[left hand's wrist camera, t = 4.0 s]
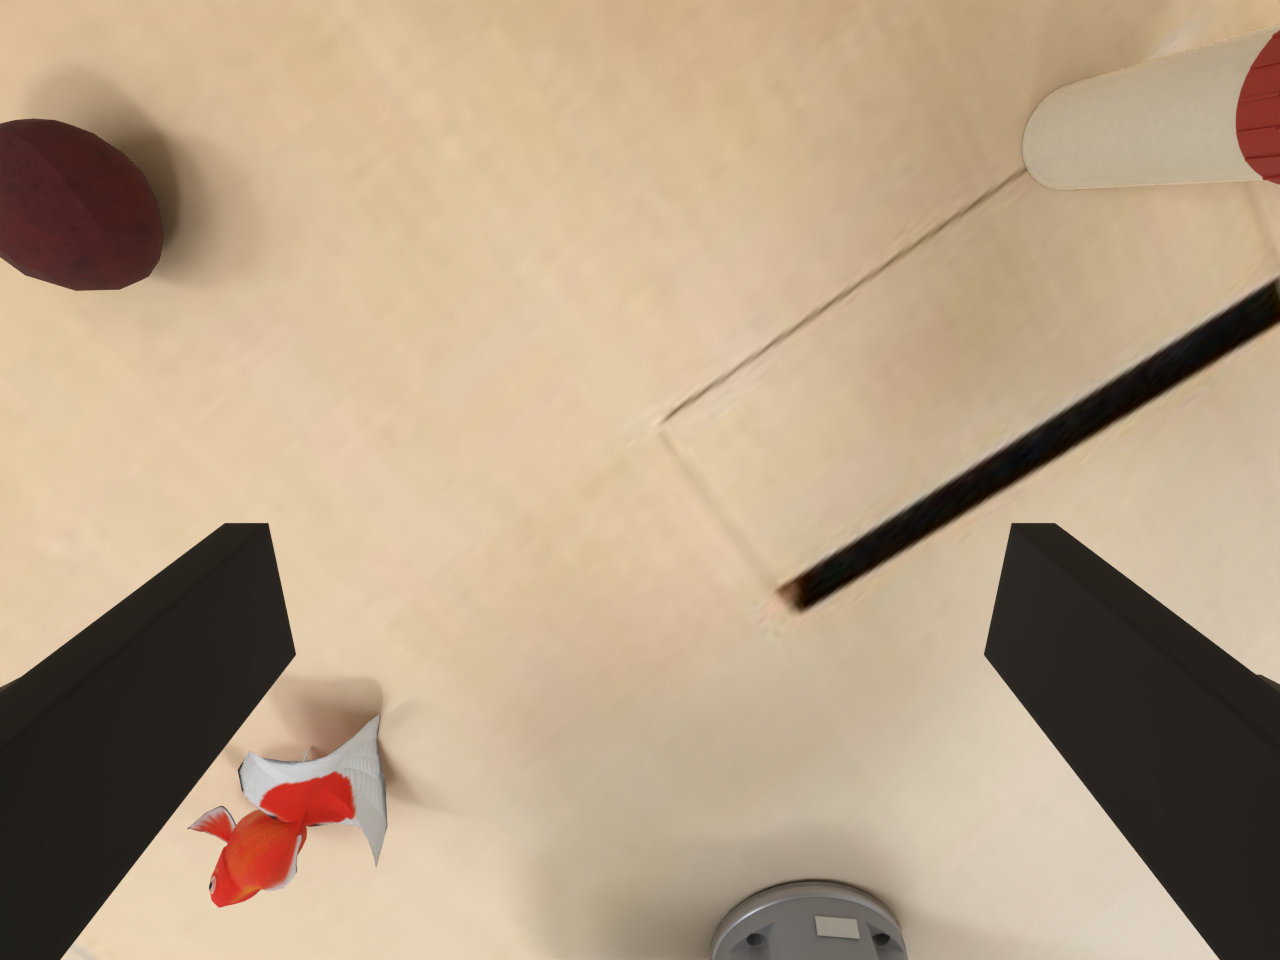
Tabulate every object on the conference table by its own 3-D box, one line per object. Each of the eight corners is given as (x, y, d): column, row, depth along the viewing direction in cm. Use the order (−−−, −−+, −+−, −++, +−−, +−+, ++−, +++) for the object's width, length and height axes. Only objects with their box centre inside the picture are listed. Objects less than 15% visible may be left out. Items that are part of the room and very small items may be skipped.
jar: (1100, 59, 34) (1444, -53, 19) (1135, 152, 35) (1479, 111, 21) (1006, 122, 35) (1266, 60, 20) (1043, 209, 36) (1311, 209, 22)
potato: (111, 96, 34) (-14, 70, 28) (226, 235, 37) (136, 241, 30) (14, 186, 36) (-127, 181, 29) (130, 314, 38) (24, 336, 32)
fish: (116, 799, 45) (108, 937, 37) (327, 638, 48) (359, 734, 40) (239, 861, 51) (253, 988, 44) (417, 715, 55) (458, 810, 47)
